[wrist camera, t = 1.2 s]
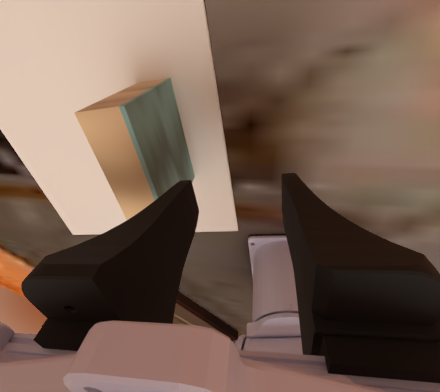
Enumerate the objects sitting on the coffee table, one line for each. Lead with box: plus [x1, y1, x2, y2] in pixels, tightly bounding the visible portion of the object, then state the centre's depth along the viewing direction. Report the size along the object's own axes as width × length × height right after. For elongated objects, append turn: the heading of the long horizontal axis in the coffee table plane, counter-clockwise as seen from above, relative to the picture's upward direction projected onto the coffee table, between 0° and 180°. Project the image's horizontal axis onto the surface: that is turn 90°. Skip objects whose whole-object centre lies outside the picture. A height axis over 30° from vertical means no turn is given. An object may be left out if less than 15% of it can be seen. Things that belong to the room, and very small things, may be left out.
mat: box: [0, 0, 238, 235], centre depth 23 cm, size 24×22×1 cm
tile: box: [74, 78, 195, 220], centre depth 18 cm, size 9×3×8 cm, turn 9°
